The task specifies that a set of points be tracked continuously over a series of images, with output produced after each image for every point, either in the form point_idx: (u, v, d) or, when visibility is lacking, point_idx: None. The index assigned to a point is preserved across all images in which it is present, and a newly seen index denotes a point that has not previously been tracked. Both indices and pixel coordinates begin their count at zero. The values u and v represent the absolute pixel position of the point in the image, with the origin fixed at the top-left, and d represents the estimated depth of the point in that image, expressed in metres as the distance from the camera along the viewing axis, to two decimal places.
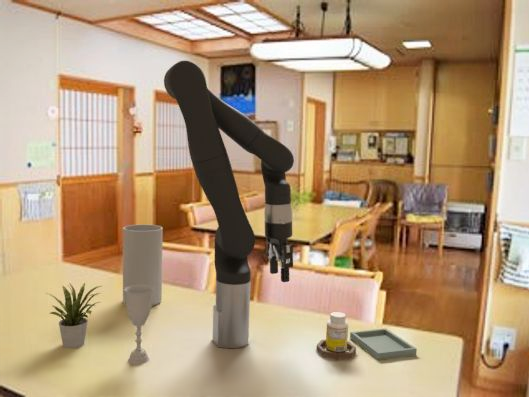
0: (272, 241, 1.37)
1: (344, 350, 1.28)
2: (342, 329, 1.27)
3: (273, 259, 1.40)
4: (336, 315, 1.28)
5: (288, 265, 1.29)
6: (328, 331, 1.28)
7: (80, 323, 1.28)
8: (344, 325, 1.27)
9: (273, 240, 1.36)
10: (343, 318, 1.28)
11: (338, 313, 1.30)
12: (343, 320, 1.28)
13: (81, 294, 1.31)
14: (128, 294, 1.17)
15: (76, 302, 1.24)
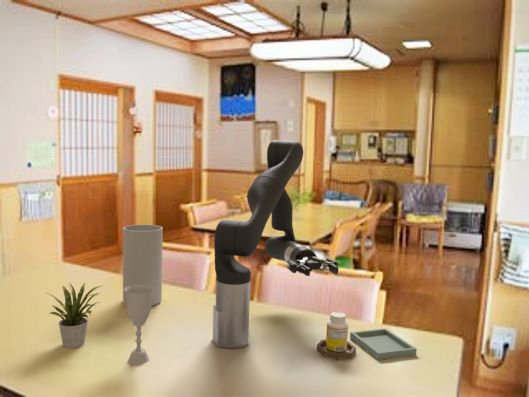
0: (302, 259, 1.46)
1: (344, 350, 1.28)
2: (342, 329, 1.27)
3: None
4: (336, 315, 1.28)
5: None
6: (328, 331, 1.28)
7: (80, 323, 1.28)
8: (344, 325, 1.27)
9: None
10: (343, 318, 1.28)
11: (338, 313, 1.30)
12: (343, 320, 1.28)
13: (81, 294, 1.31)
14: (128, 294, 1.17)
15: (76, 302, 1.24)
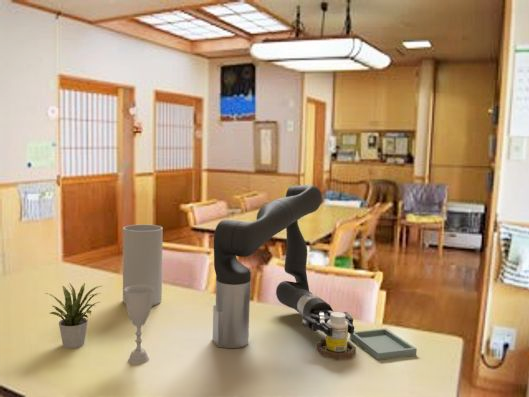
0: (317, 314, 1.36)
1: (344, 350, 1.28)
2: (342, 329, 1.27)
3: None
4: (336, 315, 1.28)
5: None
6: None
7: (80, 323, 1.28)
8: (344, 325, 1.27)
9: None
10: (343, 318, 1.28)
11: (338, 313, 1.30)
12: (343, 320, 1.28)
13: (81, 294, 1.31)
14: (128, 294, 1.17)
15: (76, 302, 1.24)
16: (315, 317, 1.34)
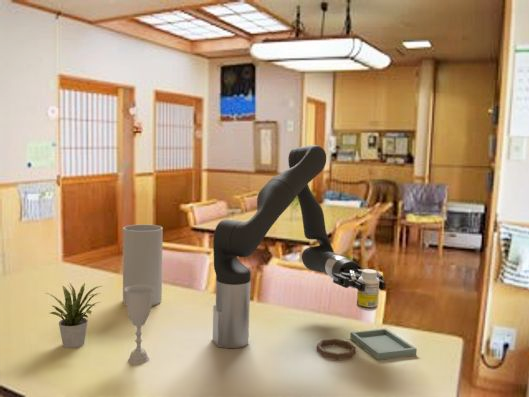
0: (347, 272, 1.38)
1: (375, 306, 1.30)
2: (374, 285, 1.29)
3: None
4: (368, 271, 1.30)
5: None
6: None
7: (80, 323, 1.28)
8: (376, 281, 1.29)
9: (349, 272, 1.39)
10: (375, 274, 1.30)
11: (369, 270, 1.32)
12: (375, 276, 1.30)
13: (81, 294, 1.31)
14: (128, 294, 1.17)
15: (76, 302, 1.24)
16: (346, 275, 1.36)
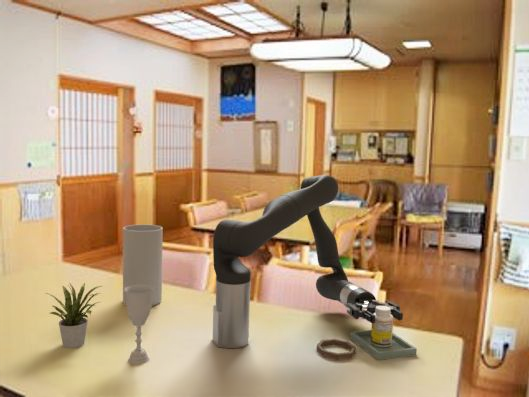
0: (362, 303, 1.41)
1: (390, 342, 1.33)
2: (388, 322, 1.31)
3: None
4: (382, 308, 1.33)
5: None
6: (374, 324, 1.33)
7: (80, 323, 1.28)
8: (390, 318, 1.32)
9: (364, 302, 1.41)
10: (389, 311, 1.32)
11: (383, 306, 1.34)
12: (389, 313, 1.32)
13: (81, 294, 1.31)
14: (128, 294, 1.17)
15: (76, 302, 1.24)
16: (360, 306, 1.39)
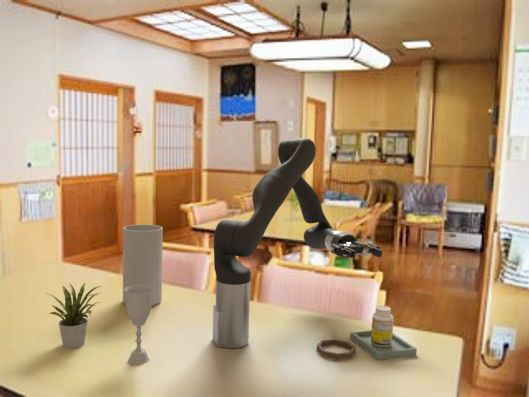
0: (345, 244, 1.50)
1: (390, 342, 1.33)
2: (388, 322, 1.31)
3: None
4: (382, 308, 1.33)
5: None
6: (374, 324, 1.33)
7: (80, 323, 1.28)
8: (390, 318, 1.32)
9: (346, 243, 1.51)
10: (389, 311, 1.32)
11: (383, 307, 1.35)
12: (389, 313, 1.32)
13: (81, 294, 1.31)
14: (128, 294, 1.17)
15: (76, 302, 1.24)
16: (342, 246, 1.48)
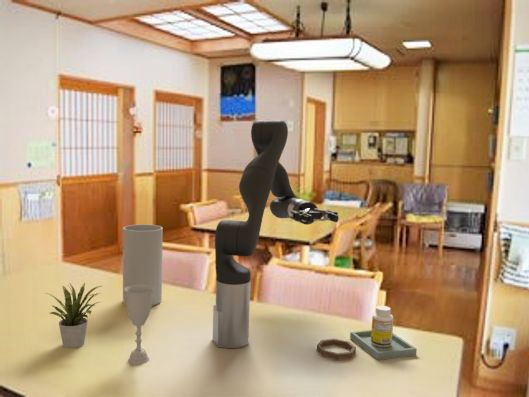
0: None
1: (390, 342, 1.33)
2: (388, 322, 1.31)
3: None
4: (382, 308, 1.33)
5: None
6: (374, 324, 1.33)
7: (80, 323, 1.28)
8: (390, 318, 1.32)
9: None
10: (389, 311, 1.32)
11: (383, 307, 1.35)
12: (389, 313, 1.32)
13: (81, 294, 1.31)
14: (128, 294, 1.17)
15: (76, 302, 1.24)
16: (301, 212, 1.55)
